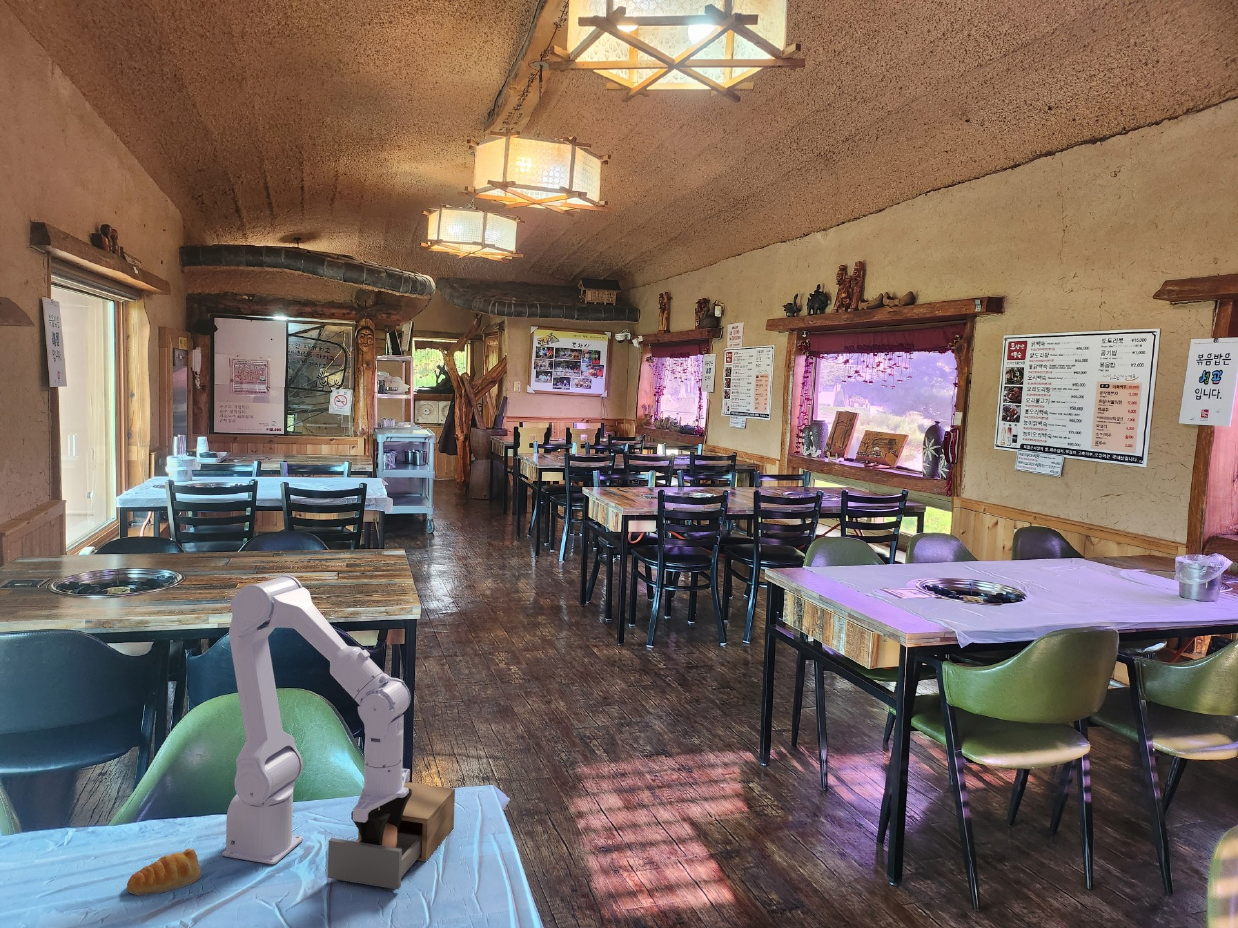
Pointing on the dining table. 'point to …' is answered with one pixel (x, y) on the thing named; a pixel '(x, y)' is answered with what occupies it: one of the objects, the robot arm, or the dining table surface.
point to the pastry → (166, 874)
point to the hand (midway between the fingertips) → (381, 845)
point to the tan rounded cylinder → (390, 836)
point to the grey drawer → (373, 860)
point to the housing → (428, 816)
